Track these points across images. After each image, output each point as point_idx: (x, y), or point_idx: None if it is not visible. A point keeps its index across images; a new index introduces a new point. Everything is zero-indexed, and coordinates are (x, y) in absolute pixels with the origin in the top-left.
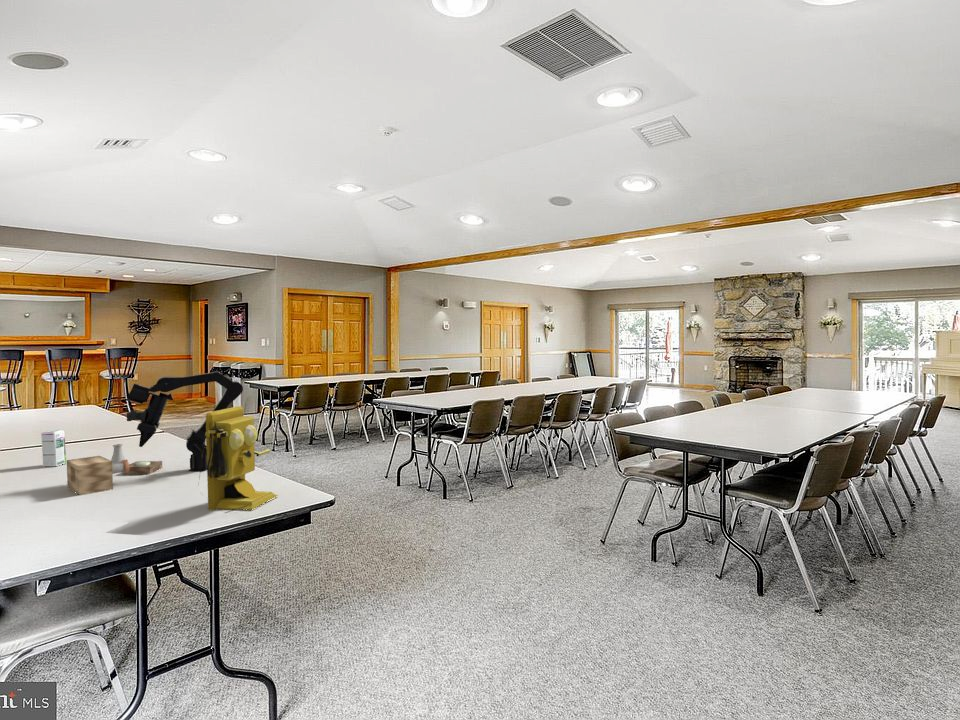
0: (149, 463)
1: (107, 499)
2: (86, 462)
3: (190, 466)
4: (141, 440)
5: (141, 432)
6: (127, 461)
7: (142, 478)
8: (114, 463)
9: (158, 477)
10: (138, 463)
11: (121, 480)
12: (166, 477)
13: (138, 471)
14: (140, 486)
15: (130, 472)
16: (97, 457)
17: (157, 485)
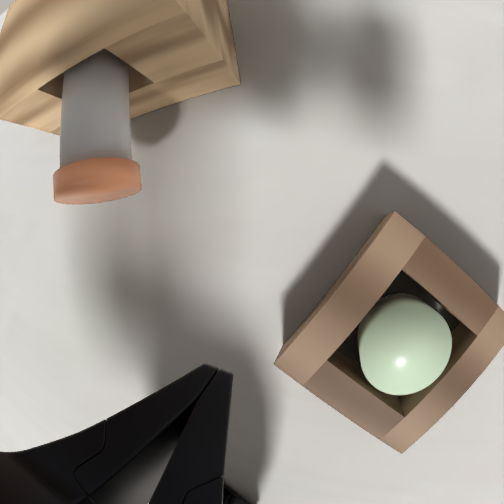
0: (373, 384)
1: (4, 136)
2: (34, 5)
3: (230, 500)
4: (133, 416)
5: (5, 462)
6: (54, 194)
7: (193, 284)
8: (61, 119)
9: (166, 350)
10: (413, 322)
11: (220, 180)
12: (145, 374)
13: (326, 296)
14: (59, 239)
15: (359, 252)
16: (107, 4)
17: (45, 294)
